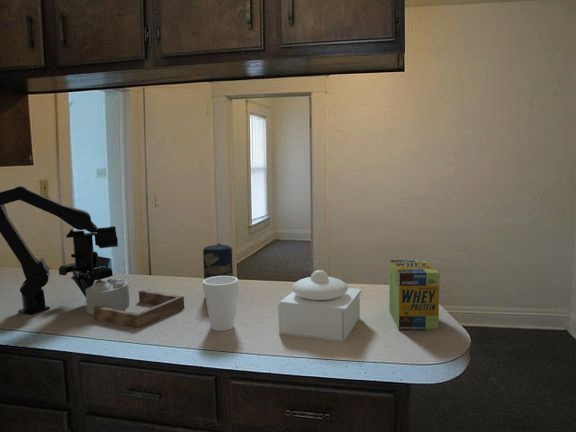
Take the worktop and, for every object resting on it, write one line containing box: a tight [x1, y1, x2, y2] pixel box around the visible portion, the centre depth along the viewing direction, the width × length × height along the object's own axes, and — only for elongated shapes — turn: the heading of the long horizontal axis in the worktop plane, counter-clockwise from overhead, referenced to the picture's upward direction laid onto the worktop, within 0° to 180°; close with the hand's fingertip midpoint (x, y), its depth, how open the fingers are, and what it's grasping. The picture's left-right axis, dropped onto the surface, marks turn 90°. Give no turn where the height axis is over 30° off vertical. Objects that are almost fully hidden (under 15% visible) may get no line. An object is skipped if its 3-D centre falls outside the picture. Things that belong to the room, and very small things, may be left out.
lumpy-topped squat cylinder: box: [85, 277, 130, 315], centre depth 141 cm, size 10×13×9 cm
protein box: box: [388, 259, 441, 331], centre depth 124 cm, size 10×15×16 cm
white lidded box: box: [277, 269, 362, 343], centre depth 121 cm, size 18×18×16 cm
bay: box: [93, 289, 185, 329], centre depth 136 cm, size 18×19×4 cm
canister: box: [202, 243, 234, 280], centre depth 149 cm, size 10×10×18 cm
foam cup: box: [202, 275, 239, 332], centre depth 123 cm, size 10×9×13 cm
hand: (87, 297), depth 146 cm, fingers closed
